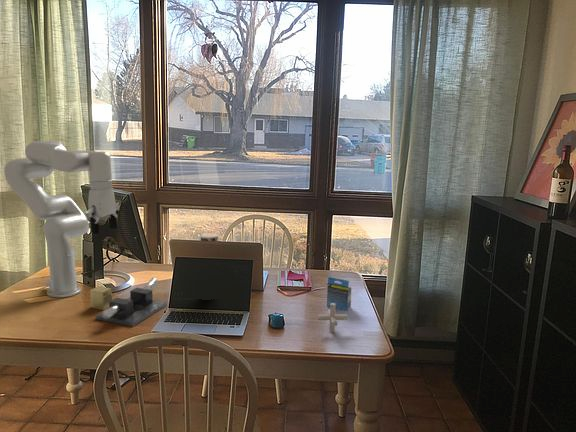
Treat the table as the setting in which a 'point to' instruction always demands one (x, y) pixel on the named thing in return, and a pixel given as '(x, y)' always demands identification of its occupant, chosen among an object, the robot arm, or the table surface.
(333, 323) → the pipe connector
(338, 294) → the label tape box
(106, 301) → the cream rectangular block
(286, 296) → the table surface
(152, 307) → the shaft bench
